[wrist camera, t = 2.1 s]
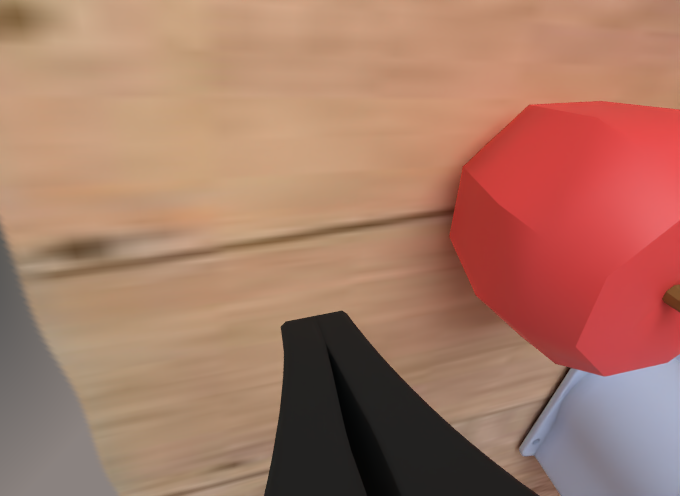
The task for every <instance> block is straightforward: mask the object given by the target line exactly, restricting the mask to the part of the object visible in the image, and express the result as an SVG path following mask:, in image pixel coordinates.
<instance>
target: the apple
mask: <svg viewBox="0 0 680 496" xmlns="http://www.w3.org/2000/svg"><path fill="white" fill-rule="evenodd" d="M449 237H450V239H451V242H452V244H453V246H454V248H455V250H456V253H457V255H458V257H459V259H460V261H461V264H462V266H463V268H464V270H465V273H466V275H467V277H468V279H469V281H470V284H471V286H472V288H473V290H474V293H475V295H476V296H477V297H478V298H479V299H480V300H481V301H483V302H484V303H485V304H486V305H487V306H488V307H489V308H490V309H491V310H493V311H494V312H495V313H496V314H497V315H498V316H499V317H500V318H501V319H503V320H504V321H505V322H506V323H507V324H508V325H509V326H510V327H511V328H513V329H514V330H515V331H516V332H517V333H518V334H519V335H520V336H521V337H523V338H524V339H525V340H526V341H528V342H529V343H530V344H531V345H533V346H534V347H535V348H536V349H538V350H539V351H540V352H541V353H543V354H544V355H545V356H546V357H548V358H549V359H550V360H552V361H553V362H554V363H555V364H559V365H562V366H566V367H570V368H574V369H578V370H581V371H585V372H589V373H593V374H596V375H600V376H604V377H606V376H610V375H615V374H619V373H624V372H628V371H633V370H637V369H642V368H646V367H651V366H655V365H659V364H664V363H668V362H669V361H671V360H672V359H674V358H675V357H676V356H678V355H679V354H680V110H678V109H668V108H659V107H650V106H641V105H631V104H622V103H613V102H604V101H594V102H575V103H556V104H537V105H528V106H527V107H526V108H525V109H524V110H523V111H522V112H521V113H520V114H519V115H518V116H517V117H516V118H515V119H513V120H512V121H511V122H510V123H509V124H508V125H507V126H506V127H505V128H504V129H503V130H502V131H501V132H499V133H498V134H497V135H496V136H495V137H494V138H493V139H492V140H491V141H490V142H489V143H488V144H487V145H486V146H484V147H483V148H482V149H481V150H480V151H479V152H478V153H477V154H476V155H475V156H474V157H473V158H472V159H470V160H469V161H468V162H467V163H466V164H465V165H464V166H463V169H462V174H461V179H460V184H459V189H458V194H457V199H456V204H455V209H454V215H453V220H452V225H451V230H450V235H449Z"/></svg>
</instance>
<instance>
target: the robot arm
mask: <svg viewBox="0 0 680 496" xmlns="http://www.w3.org/2000/svg"><path fill="white" fill-rule="evenodd" d="M281 332H282V340H283V348H284V372H283V385H282V395H281V405H280V413H279V420H278V426H277V432H276V438H275V444H274V450H273V456H272V461H271V466H270V471H269V476H268V480H267V485H266V489H265V494H264V496H539V495H538V494H536V493H535V492H533V491H532V490H531V489H529V488H528V487H526V486H525V485H524V484H522V483H521V482H519V481H518V480H517V479H516V478H514V477H513V476H512V475H510V474H509V473H508V472H506V471H505V470H504V469H503V468H501V467H500V466H499V465H497V464H496V463H495V462H494V461H492V460H491V459H490V458H489V457H487V456H486V455H485V454H484V453H482V452H481V451H480V450H479V449H478V448H476V447H475V446H474V445H473V444H472V443H470V442H469V441H468V440H467V439H466V438H464V437H463V436H462V435H461V434H460V433H459V432H457V431H456V430H455V429H454V428H453V427H452V426H451V425H450V424H449V423H447V422H446V421H445V420H444V419H443V418H442V417H441V416H440V415H439V414H438V413H437V412H436V411H434V410H433V409H432V408H431V407H430V406H429V405H428V404H427V403H426V402H425V401H424V400H423V399H422V398H421V397H420V396H419V395H418V394H417V393H416V392H415V391H414V390H413V389H412V388H411V387H410V386H409V385H408V384H407V383H406V382H405V381H404V380H403V379H402V378H401V377H400V376H399V375H398V374H397V373H396V372H395V370H394V369H393V368H392V367H391V366H390V365H389V364H388V363H387V362H386V361H385V360H384V359H383V357H382V356H381V355H380V354H379V353H378V352H377V351H376V349H375V348H374V347H373V346H372V345H371V344H370V342H369V341H368V340H367V339H366V338H365V336H364V335H363V334H362V333H361V332H360V330H359V329H358V328H357V326H356V325H355V324H354V323H353V321H352V320H351V319H350V317H349V316H348V314H346V313H345V312H343V311H338V312H333V313H328V314H323V315H317V316H312V317H307V318H302V319H297V320H292V321H287V322H285V323H284V324H283V325H282V326H281ZM519 451H520V453H521V455H522V456H532V455H534V456H535V457H536V459H537V460H538V462H539V463H540V465H541V466H542V468H543V469H544V471H545V472H546V474H547V475H548V477H549V479H550V480H551V482H552V483H553V485H554V486H555V488H556V489H557V491H558V492H559V494H560V495H561V496H680V354H679V355H678V356H676V357H675V358H674V359H672V360H671V361H669V362H668V363H664V364H659V365H655V366H651V367H646V368H642V369H637V370H633V371H628V372H624V373H619V374H615V375H610V376H606V377H604V376H600V375H596V374H593V373H589V372H585V371H581V370H578V369H574V368H571V369H570V370H569V372H568V373H567V375H566V376H565V378H564V379H563V381H562V382H561V384H560V385H559V387H558V389H557V390H556V392H555V393H554V395H553V396H552V398H551V399H550V401H549V402H548V404H547V406H546V407H545V409H544V410H543V412H542V413H541V415H540V416H539V418H538V419H537V421H536V423H535V424H534V426H533V427H532V429H531V430H530V432H529V433H528V435H527V436H526V438H525V439H524V441H523V443H522V444H521V446H520V447H519Z"/></svg>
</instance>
